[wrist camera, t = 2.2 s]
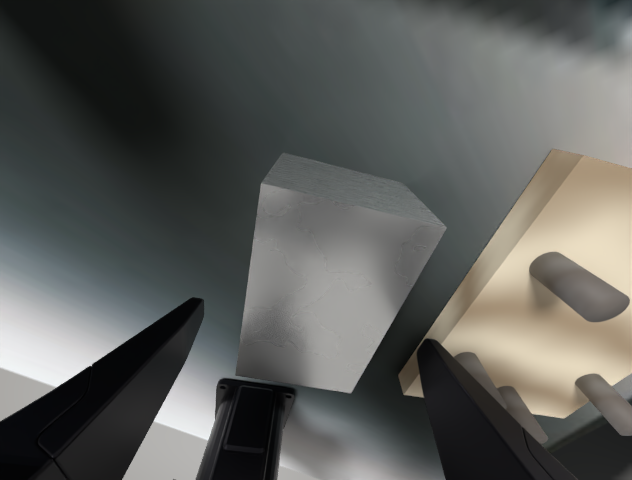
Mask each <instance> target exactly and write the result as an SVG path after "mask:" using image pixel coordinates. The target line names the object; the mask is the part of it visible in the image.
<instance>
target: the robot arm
mask: <svg viewBox="0 0 632 480" xmlns="http://www.w3.org/2000/svg"><path fill="white" fill-rule="evenodd" d="M203 317H204V300H203V299H200V298H195V297H193V298H190V299H189V300H187V301H186V302H184V303H183V304H181V305H180V306H178V307H177V308H175V309H174V310H172V311H171V312H169V313H168V314H166V315H165V316H163V317H162V318H160V319H159V320H157V321H156V322H154V323H153V324H152V325H150V326H149V327H147V328H146V329H144V330H143V331H141V332H140V333H138V334H137V335H135V336H134V337H132V338H131V339H129V340H128V341H126V342H125V343H123V344H122V345H120V346H119V347H117V348H116V349H114V350H113V351H111V352H110V353H108V354H107V355H105V356H104V357H102V358H101V359H99V360H98V361H96V362H95V363H93V364H92V366H89V367H87V368H86V369H84V370H83V371H81V372H80V373H78V374H77V375H75V376H74V377H72V378H71V379H69V380H68V381H66V382H65V383H63V384H61V385H60V386H58V387H57V388H55V389H54V390H52V391H51V392H49V393H47V394H46V395H44V396H42V397H41V398H39V399H37V400H36V401H34V402H32V403H31V404H29V405H28V406H26V407H24V408H22V409H21V410H19V411H17V412H16V413H14V414H12V415H10V416H9V417H7V418H5V419H4V420H2V421H0V480H122V478H123V477H124V475H125V473H126V471H127V469H128V467H129V465H130V464H131V462H132V460H133V458H134V456H135V454H136V452H137V451H138V448H139V447H140V445H141V443H142V441H143V439H144V438H145V436H146V434H147V432H148V430H149V428H150V426H151V425H152V423H153V421H154V419H155V417H156V415H157V413H158V412H159V410H160V408H161V406H162V404H163V402H164V400H165V399H166V397H167V395H168V393H169V391H170V389H171V387H172V386H173V384H174V382H175V380H176V378H177V376H178V374H179V373H180V371H181V369H182V367H183V365H184V363H185V361H186V359H187V357H188V355H189V352H190V350H191V347H192V345H193V342H194V340H195V337H196V335H197V333H198V330H199V328H200V325H201V323H202V320H203ZM416 356H417V362H418V368H419V374H420V380H421V386H422V391H423V396H424V400H425V404H426V408H427V411H428V415H429V419H430V423H431V426H432V430H433V434H434V438H435V441H436V445H437V449H438V453H439V456H440V460H441V464H442V468H443V471H444V475H445V479H446V480H578V479H577V478H576V477H574V476H573V475H572V474H571V473H570V472H569V471H568V470H567V469H566V468H565V467H564V466H562V464H561V463H559V462H558V461H557V460H556V459H555V458H554V457H553V456H552V455H551V454H550V453H549V452H548V451H547V450H546V449H545V448H544V447H543V446H542V445H541V444H540V443H539V442H538V441H537V440H536V439H535V438H534V437H533V436H532V435H531V434H530V433H529V432H528V431H527V430H526V429H525V428H524V427H522V426H521V424H520V423H519V422H518V421H517V420H516V419H515V418H514V417H513V416H512V415H511V414H510V413H509V412H508V411H507V410H506V409H505V408H504V407H503V406H502V405H501V404H500V403H499V402H498V401H497V400H496V399H495V398H494V397H493V396H492V395H491V394H490V393H489V392H488V391H487V390H486V389H485V388H484V387H483V386H482V385H481V384H480V383H479V382H478V381H477V380H476V379H475V378H474V377H473V376H472V375H471V374H470V373H469V372H468V371H467V370H466V369H465V368H464V367H463V366H462V365H461V364H460V363H459V362H458V361H457V360H456V359H455V358H454V357H453V356H452V355H451V354H450V353H449V352H448V351H447V350H446V349H445V348H444V347H443V346H442V345H441V344H440V343H439V342H438V341H437V340H435V339H430V338H426V339H424V341H423V342H422V344H421V345H420V346H419V348H418V350H417V353H416ZM294 398H295V391H294V390H293V389H289V388H282V387H275V386H268V385H261V384H254V383H247V382H240V381H233V380H226V379H221V380H219V382H218V384H217V389H216V410H215V422H214V425H213V428H212V431H211V434H210V437H209V440H208V443H207V447H206V449H205V452H204V456H203V459H202V462H201V465H200V468H199V471H198V474H197V477H196V480H277V477H278V468H279V459H280V450H281V441H282V432H283V429H284V427H285V424H286V421H287V418H288V415H289V412H290V409H291V406H292V403H293V401H294Z"/></svg>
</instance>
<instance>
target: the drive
mask: <svg viewBox="0 0 632 480" xmlns="http://www.w3.org/2000/svg"><path fill="white" fill-rule="evenodd" d="M446 228H447V227H446V226H445V225H444V224H443V223H442V222H441V221H440V220H439V219H438V218H437V217H436V216H435V215H434V214H433V213H432V212H431V211H430V210H429V209H428V208H427V207H426V206H425V205H424V204H423V203H422V202H421V201H420V200H419V199H418V198H417V197H416V196H415V195H414V194H413V193H412V192H411V191H410V190H409V189H408V188H407V187H406V186H405V185H404V184H403V183H401V182H397V181H393V180H389V179H385V178H381V177H377V176H373V175H369V174H365V173H361V172H357V171H353V170H350V169H346V168H342V167H338V166H334V165H330V164H326V163H322V162H318V161H314V160H310V159H306V158H302V157H299V156H295V155H291V154H287V153H282V154H281V156H280V157H279V159H278V160H277V161H276V163H275V164H274V166H273V167H272V169H271V170H270V171H269V173H268V174H267V176H266V177H265V178H264V180H263V181H262V183H261V188H260V196H259V203H258V211H257V218H256V226H255V233H254V241H253V248H252V255H251V263H250V270H249V278H248V285H247V293H246V300H245V308H244V315H243V323H242V330H241V337H240V345H239V352H238V360H237V367H236V376H242V377H249V378H255V379H262V380H268V381H275V382H281V383H288V384H294V385H301V386H307V387H314V388H320V389H327V390H333V391H340V392H346V393H351V392H352V391H353V389H354V387H355V386H356V384H357V382H358V380H359V379H360V377H361V375H362V373H363V372H364V370H365V368H366V367H367V365H368V363H369V361H370V360H371V358H372V356H373V354H374V353H375V351H376V349H377V348H378V346H379V344H380V342H381V341H382V339H383V337H384V335H385V334H386V332H387V330H388V329H389V327H390V325H391V323H392V322H393V320H394V318H395V316H396V315H397V313H398V311H399V310H400V308H401V306H402V304H403V303H404V301H405V299H406V297H407V296H408V294H409V292H410V290H411V289H412V287H413V285H414V284H415V282H416V280H417V278H418V277H419V275H420V273H421V271H422V270H423V268H424V266H425V265H426V263H427V261H428V259H429V258H430V256H431V254H432V252H433V251H434V249H435V247H436V246H437V244H438V242H439V240H440V239H441V237H442V235H443V233H444V232H445V230H446Z"/></svg>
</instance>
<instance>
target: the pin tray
mask: <svg viewBox="0 0 632 480" xmlns="http://www.w3.org/2000/svg"><path fill="white" fill-rule="evenodd" d="M426 338H430V339H435V340H437V341H438V342H439V343H440V344H441V345H442V346H443V347H444V348H445V349H446V350H447V351H448V352H449V353H450V354H451V355H452V356H453V357H454V358H455V359H456V360H457V361H458V362H459V363H460V364H461V365H462V366H463V367H464V368H465V369H466V370H467V371H468V372H469V373H470V374H471V375H472V376H473V377H474V378H475V379H476V380H477V381H478V382H479V383H480V384H481V385H482V386H483V387H484V388H485V389H486V390H487V391H488V392H489V393H490V394H491V395H492V396H493V397H494V398H495V399H496V400H497V401H498V402H499V403H500V404H501V405H502V406H503V407H504V408H505V409H506V410H507V411H508V412H509V413H510V414H511V415H512V416H513V417H514V418H515V419H516V420H517V421H518V422H519V423H520V424H521V426H522V427H524V428H525V429H526V430H527V431H528V432H529V433H530V434H531V435H532V436H533V437H534V438H535V439H536V440H537V441H538V442H539V443H540V444H543V443H544V442H546V441H547V440H548V437H547V436H546V434H545V433H544V431H543V430H542V428H541V427H540V425H539V424H538V422H537V421H536V419H535V418H534V416H533V415H532V414H538V415H545V416H552V417H558V418H565V417H567V416H568V415H570V414H571V413H573V412H574V411H576V410H577V409H579V408H580V407H582V406H583V405H585V404H586V403H587V402H589V401H591V402H592V404H593V405H594V406H595V407H596V408H597V409H598V410H599V411H600V412H601V414H602V415H603V416H604V417H605V418H606V419H607V420H608V421H609V423H610V424H611V425H612V426H613V427H614V428H615V429H616V430H617V431H618V432H619V434H620V435H623V436H632V406H631V405H630V404H629V403H628V402H627V401H626V400H625V399H624V398H623V397H622V396H621V395H620V394H619V393H618V392H617V391H616V390H615V389H614V388H613V387H612V386H613V385H614V384H616V383H617V382H619V381H620V380H622V379H623V378H625V377H626V376H628V375H629V374H631V373H632V168H628V167H624V166H621V165H617V164H613V163H610V162H606V161H602V160H599V159H595V158H591V157H588V156H584V155H580V154H575V153H570V152H565V151H561V150H556V149H552V151H551V152H550V153H549V155H548V156H547V158H546V159H545V161H544V162H543V164H542V165H541V167H540V168H539V170H538V171H537V173H536V174H535V175H534V177H533V178H532V180H531V181H530V183H529V184H528V186H527V187H526V189H525V190H524V192H523V193H522V194H521V196H520V197H519V199H518V200H517V202H516V203H515V205H514V206H513V208H512V209H511V211H510V212H509V214H508V215H507V216H506V218H505V219H504V221H503V222H502V224H501V225H500V227H499V228H498V230H497V231H496V233H495V234H494V236H493V237H492V238H491V240H490V241H489V243H488V244H487V246H486V247H485V249H484V250H483V252H482V253H481V255H480V256H479V258H478V259H477V260H476V262H475V263H474V265H473V266H472V268H471V269H470V271H469V272H468V274H467V275H466V277H465V278H464V280H463V281H462V282H461V284H460V285H459V287H458V288H457V290H456V291H455V293H454V294H453V296H452V297H451V299H450V300H449V302H448V303H447V304H446V306H445V307H444V309H443V310H442V312H441V313H440V315H439V316H438V318H437V319H436V321H435V322H434V324H433V325H432V326H431V328H430V329H429V331H428V332H427V334H426V335H425V337H424V338H423V340H422V341H421V343H420V344H419V346H420V345H421V344H422V342H423V341H424V339H426ZM419 346H418V347H417V348H416V350H415V351H414V353H413V354H412V356H411V357H410V359H409V360H408V362H407V363H406V365H405V366H404V368H403V369H402V370H401V372H400V373H399V375H398V377H399V380H400V384H401V387H402V391H403V394H404V395H409V396H416V397H423V398H424V396H423V391H422V386H421V380H420V374H419V368H418V362H417V356H416V353H417V350H418V348H419Z"/></svg>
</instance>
